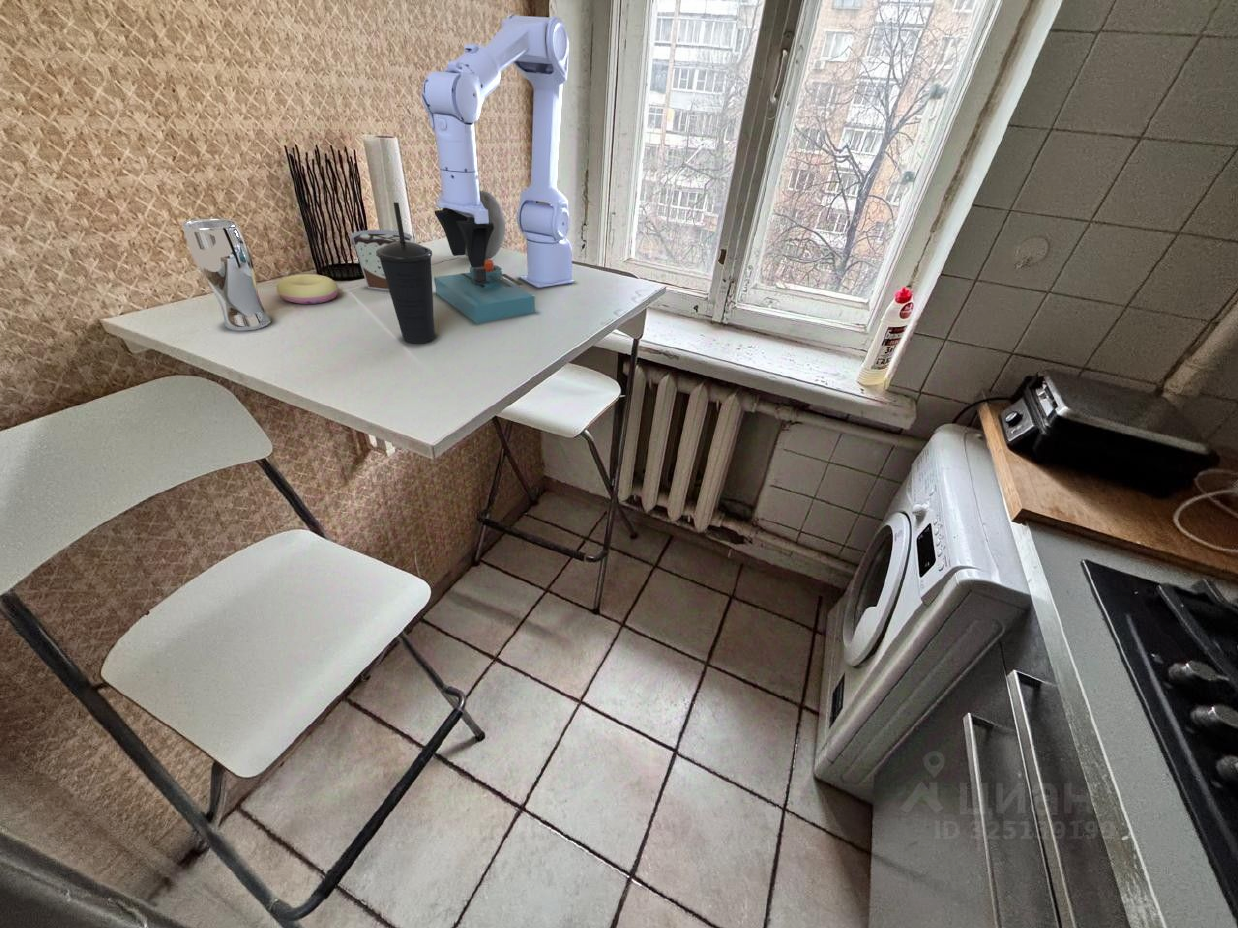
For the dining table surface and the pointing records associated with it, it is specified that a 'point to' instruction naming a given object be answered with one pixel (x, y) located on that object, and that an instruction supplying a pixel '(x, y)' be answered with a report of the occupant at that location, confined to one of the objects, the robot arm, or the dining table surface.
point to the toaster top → (497, 280)
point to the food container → (374, 253)
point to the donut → (307, 288)
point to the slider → (479, 276)
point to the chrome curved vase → (227, 271)
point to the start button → (489, 265)
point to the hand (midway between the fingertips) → (468, 260)
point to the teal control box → (484, 296)
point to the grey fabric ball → (498, 220)
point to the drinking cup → (410, 285)
